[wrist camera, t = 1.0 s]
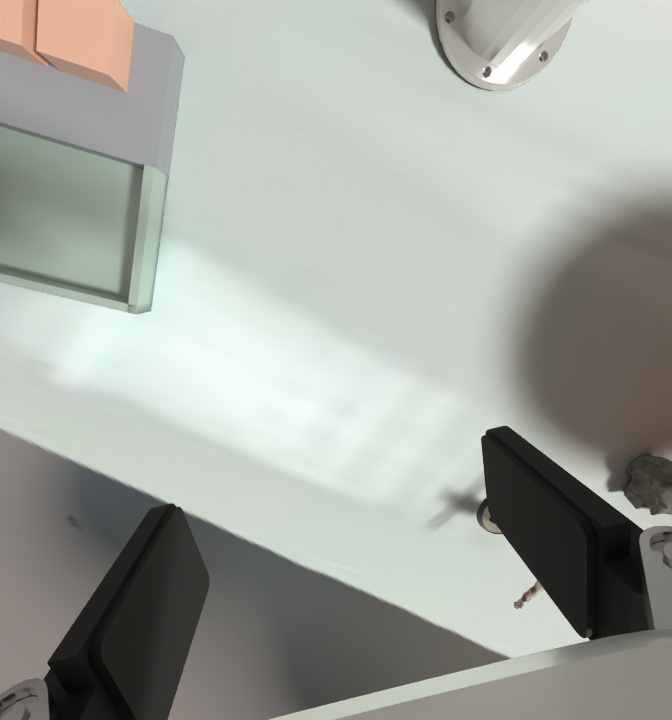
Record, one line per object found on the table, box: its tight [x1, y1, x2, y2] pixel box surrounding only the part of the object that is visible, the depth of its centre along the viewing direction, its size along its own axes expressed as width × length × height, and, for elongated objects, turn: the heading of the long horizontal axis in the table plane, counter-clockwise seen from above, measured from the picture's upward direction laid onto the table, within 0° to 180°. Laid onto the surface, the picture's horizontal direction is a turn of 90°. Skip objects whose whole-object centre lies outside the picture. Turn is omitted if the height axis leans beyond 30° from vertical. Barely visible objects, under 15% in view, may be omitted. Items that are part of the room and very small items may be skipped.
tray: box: [0, 127, 168, 314], centre depth 29 cm, size 13×17×3 cm
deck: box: [0, 23, 184, 177], centre depth 27 cm, size 10×17×2 cm, turn 75°
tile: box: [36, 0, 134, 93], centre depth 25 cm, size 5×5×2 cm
